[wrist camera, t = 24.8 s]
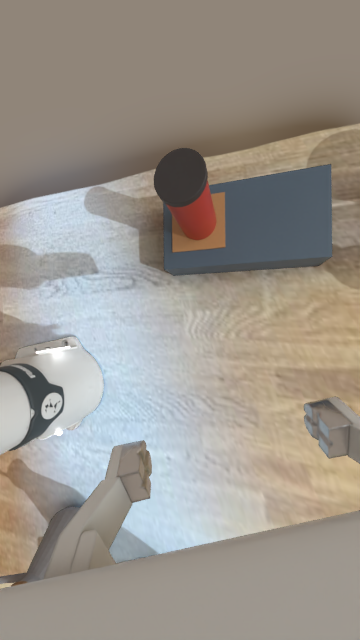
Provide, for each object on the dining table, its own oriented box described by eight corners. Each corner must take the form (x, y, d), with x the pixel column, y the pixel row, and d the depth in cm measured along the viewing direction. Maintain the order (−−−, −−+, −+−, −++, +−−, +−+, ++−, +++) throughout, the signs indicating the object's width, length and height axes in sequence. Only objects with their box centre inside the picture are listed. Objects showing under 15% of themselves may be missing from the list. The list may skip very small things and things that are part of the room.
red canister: (181, 243, 33) (153, 207, 22) (181, 207, 33) (153, 153, 22) (217, 239, 32) (206, 198, 21) (217, 201, 32) (206, 142, 21)
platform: (173, 275, 39) (163, 269, 34) (172, 208, 39) (162, 192, 34) (318, 265, 33) (333, 256, 28) (317, 186, 33) (332, 162, 28)
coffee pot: (108, 505, 42) (41, 601, 28) (107, 563, 42) (39, 689, 28) (24, 481, 48) (-68, 550, 34) (23, 532, 48) (-69, 624, 34)
